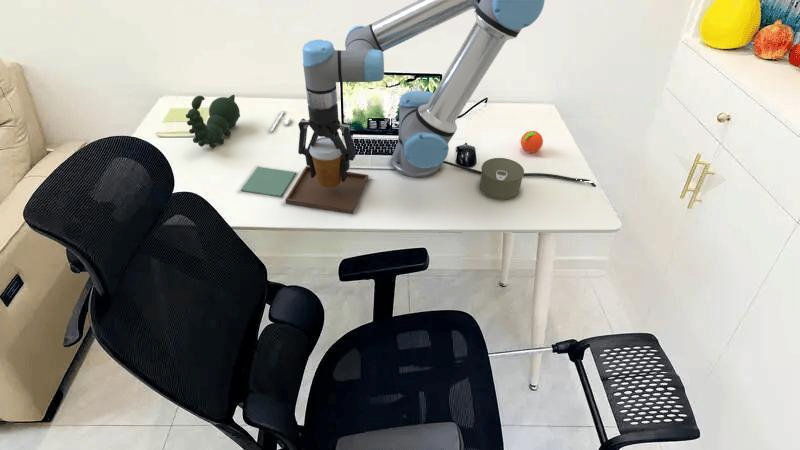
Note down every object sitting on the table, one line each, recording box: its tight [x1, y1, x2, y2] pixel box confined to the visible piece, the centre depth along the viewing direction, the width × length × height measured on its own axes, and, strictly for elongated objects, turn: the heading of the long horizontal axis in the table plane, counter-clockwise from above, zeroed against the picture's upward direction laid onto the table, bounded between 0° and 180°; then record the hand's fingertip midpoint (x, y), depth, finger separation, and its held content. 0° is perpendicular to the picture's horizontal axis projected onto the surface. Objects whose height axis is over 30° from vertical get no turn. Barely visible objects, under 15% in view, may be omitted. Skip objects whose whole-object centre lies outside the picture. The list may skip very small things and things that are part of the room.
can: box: [479, 157, 525, 201], centre depth 155 cm, size 12×12×7 cm
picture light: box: [270, 111, 291, 132], centre depth 183 cm, size 14×4×2 cm, turn 173°
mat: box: [240, 166, 297, 198], centre depth 157 cm, size 12×12×1 cm
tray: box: [285, 165, 369, 215], centre depth 154 cm, size 19×17×2 cm
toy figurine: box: [185, 94, 241, 149], centre depth 170 cm, size 9×19×25 cm
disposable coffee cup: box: [309, 137, 342, 188], centre depth 148 cm, size 10×10×12 cm
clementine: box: [520, 130, 544, 154], centre depth 172 cm, size 8×7×7 cm
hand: (329, 177), depth 151 cm, fingers closed on disposable coffee cup, 8 cm apart
